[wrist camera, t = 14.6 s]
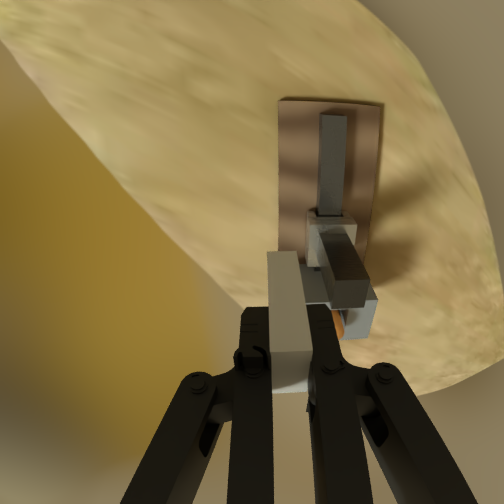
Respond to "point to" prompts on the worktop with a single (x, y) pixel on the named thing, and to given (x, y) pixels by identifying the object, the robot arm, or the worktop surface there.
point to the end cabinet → (352, 318)
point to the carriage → (337, 259)
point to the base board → (306, 168)
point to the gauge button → (338, 323)
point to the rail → (331, 165)
